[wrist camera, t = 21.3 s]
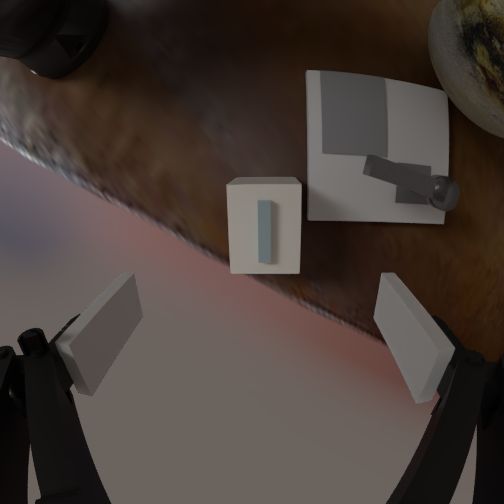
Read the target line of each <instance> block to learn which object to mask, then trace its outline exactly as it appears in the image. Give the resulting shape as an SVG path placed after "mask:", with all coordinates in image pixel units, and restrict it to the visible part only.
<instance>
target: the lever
mask: <svg viewBox="0 0 504 504" xmlns="http://www.w3.org/2000/svg"><path fill="white" fill-rule="evenodd" d="M363 174H364V175H367V176H370V177H373V178H376V179H379V180H382V181H385V182H388V183H391V184H394V185H397V186H400V187H402V188H405V189H408V190H411V191H412V192H415V193H417V194H420V195H423V196H425V199H426V201H427V203H428V204H429V205H430V206H432V207H434V208H437V209H439V210H441V211H445V212H447V211H450V210H452V209H453V208H454V207H455V206H456V205H457V203H458V201H459V196H460V191H459V186H458V184H457V182H456V181H455V180H454V179H453V178H451V177H448V176H443V175H438V174H436V175H432V176H431V177H430V176H428V175H425V174H423V173H420V172H418V171H416V170H413V169H411V168H408V167H405V166H403V165H400V164H398V163H395V162H392V161H389V160H387V159H384V158H381V157H378V156H375V155H367V158H366V162H365V166H364V170H363Z"/></svg>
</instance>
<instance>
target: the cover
mask: <svg viewBox="0 0 504 504" xmlns="http://www.w3.org/2000/svg"><path fill="white" fill-rule="evenodd" d="M301 195H302V184H301V183H300V182H299V181H298V180H297V179H296V178H295V177H239V178H235V179H234V180H232V181H231V182H230V183H228V184H227V206H228V229H229V251H230V270H231V273H232V274H236V273H237V274H299V272H300V245H301Z"/></svg>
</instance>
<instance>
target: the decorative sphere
mask: <svg viewBox="0 0 504 504" xmlns="http://www.w3.org/2000/svg"><path fill="white" fill-rule="evenodd" d="M428 49H429V55H430V59H431V63H432V66H433V69H434V71H435V74H436V76H437V78H438V80H439V82H440V84H441V86H442V87H443V89H444V91H445V92H446V94H447V95H448V97H449V98H450V99H451V101H452V102H453V103H454V104H455V106H456V107H457V108H458V109H459V110H460V111H461V112H462V113H463V114H464V115H465V116H466V117H467V118H468V119H470V120H471V121H472V122H474V123H475V124H476V125H478V126H479V127H481V128H482V129H484V130H486V131H487V132H489V133H491V134H494V135H496V136H498V137H501V138H504V0H440V1H439V2H438V3H437V4H436V6H435V8H434V10H433V12H432V14H431V17H430V21H429V25H428Z"/></svg>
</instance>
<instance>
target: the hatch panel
mask: <svg viewBox="0 0 504 504" xmlns="http://www.w3.org/2000/svg"><path fill="white" fill-rule="evenodd" d="M305 74H306V99H307V146H308V185H307V219H308V220H311V221H370V222H403V223H428V224H444V217H445V211H441V210H439V209H437V208H434V207H432V206H430V205H429V204H428V203H427V201H426V199H425V196H423V195H420V194H417V193H415V192H412V191H411V190H408V189H405V188H402V187H400V186H397V185H394V184H391V183H388V182H385V181H382V180H379V179H376V178H373V177H370V176H367V175H364V174H363V170H364V166H365V162H366V158H367V155H375V156H378V157H381V158H384V159H387V160H389V161H392V162H395V163H398V164H400V165H403V166H405V167H408V168H411V169H413V170H416V171H418V172H420V173H423V174H425V175H428V176H430V177H431V176H432V175H436V174H438V175H443V176H448V167H449V116H448V98H447V94H446V92H445V91H442V90H438V89H434V88H430V87H426V86H422V85H417V84H413V83H408V82H403V81H398V80H392V79H386V78H383V77H377V76H370V75H363V74H354V73H345V72H335V71H322V70H320V71H315V70H307V71H306V73H305Z"/></svg>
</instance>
